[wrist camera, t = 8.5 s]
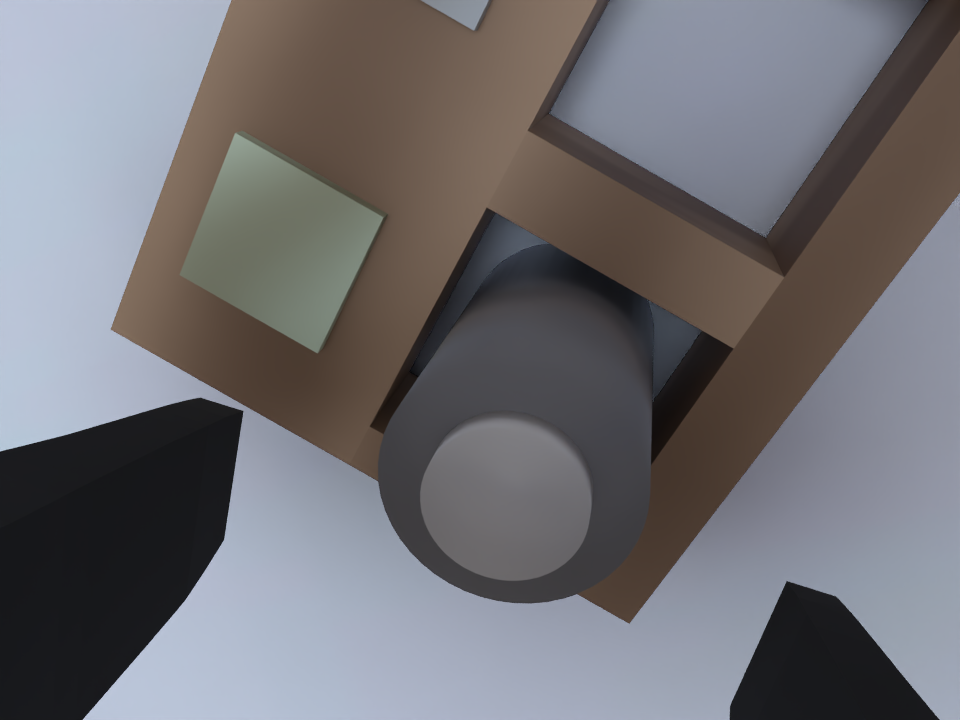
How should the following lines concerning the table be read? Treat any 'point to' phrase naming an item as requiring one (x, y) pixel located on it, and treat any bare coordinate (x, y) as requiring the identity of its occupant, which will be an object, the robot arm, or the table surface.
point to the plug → (528, 434)
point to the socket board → (524, 201)
